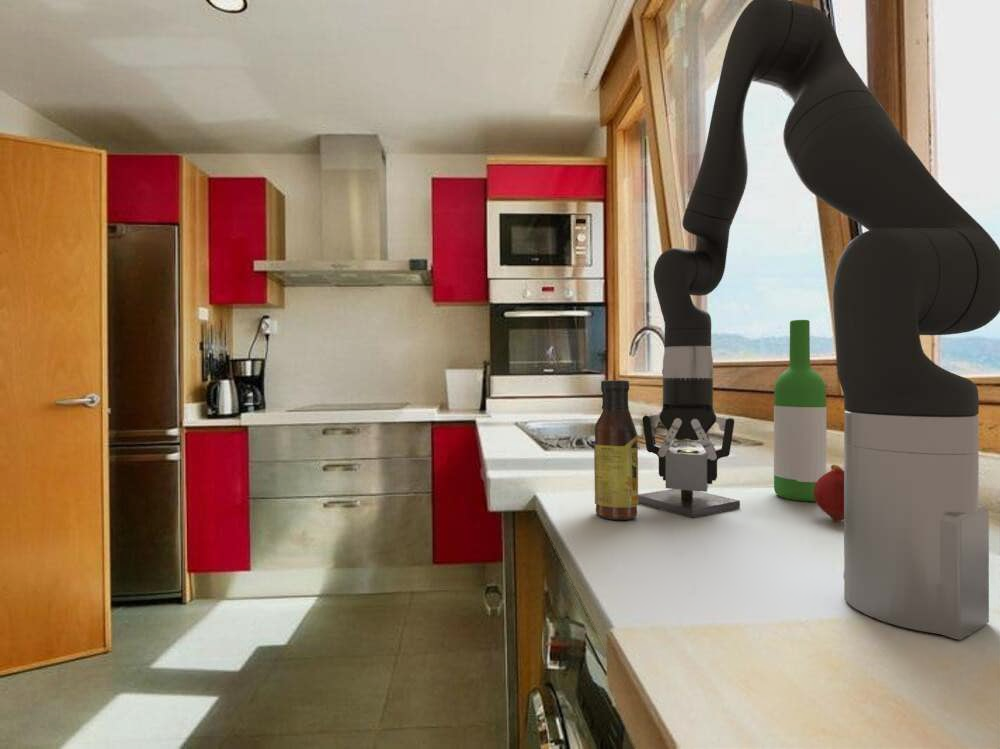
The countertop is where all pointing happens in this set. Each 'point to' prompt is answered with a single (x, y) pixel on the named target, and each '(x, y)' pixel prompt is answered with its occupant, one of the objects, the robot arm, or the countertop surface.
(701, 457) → the collar
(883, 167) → the robot arm
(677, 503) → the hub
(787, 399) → the wine bottle
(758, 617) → the countertop surface
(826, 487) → the onion
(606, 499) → the sauce bottle
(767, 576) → the countertop surface
